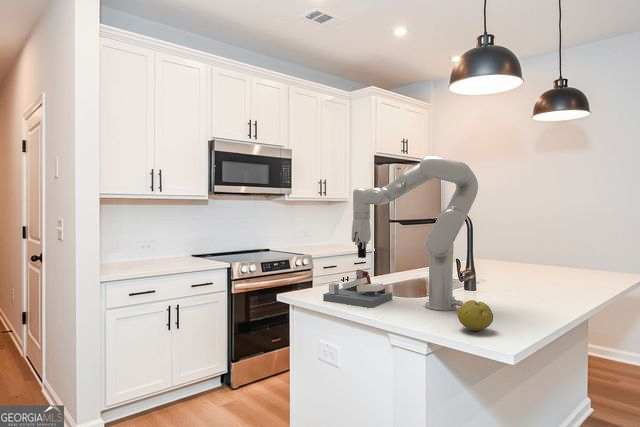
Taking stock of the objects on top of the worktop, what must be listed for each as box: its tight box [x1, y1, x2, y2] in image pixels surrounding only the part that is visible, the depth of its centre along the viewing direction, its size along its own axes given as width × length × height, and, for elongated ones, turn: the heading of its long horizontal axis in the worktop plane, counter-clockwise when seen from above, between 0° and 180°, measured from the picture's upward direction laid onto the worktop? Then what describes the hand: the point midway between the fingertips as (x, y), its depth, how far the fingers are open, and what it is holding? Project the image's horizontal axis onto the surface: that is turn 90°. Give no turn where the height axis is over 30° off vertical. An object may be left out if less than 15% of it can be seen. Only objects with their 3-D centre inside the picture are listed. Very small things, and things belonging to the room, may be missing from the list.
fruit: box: [456, 299, 494, 332], centre depth 142 cm, size 11×12×10 cm
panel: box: [322, 285, 393, 309], centre depth 188 cm, size 24×20×5 cm
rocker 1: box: [341, 277, 367, 289], centre depth 196 cm, size 10×6×3 cm, turn 56°
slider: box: [328, 282, 340, 294], centre depth 187 cm, size 3×4×4 cm
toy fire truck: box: [355, 269, 372, 284], centre depth 207 cm, size 7×12×10 cm, turn 24°
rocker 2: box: [357, 283, 385, 292], centre depth 185 cm, size 10×6×3 cm, turn 56°
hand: (361, 257), depth 187 cm, fingers closed
